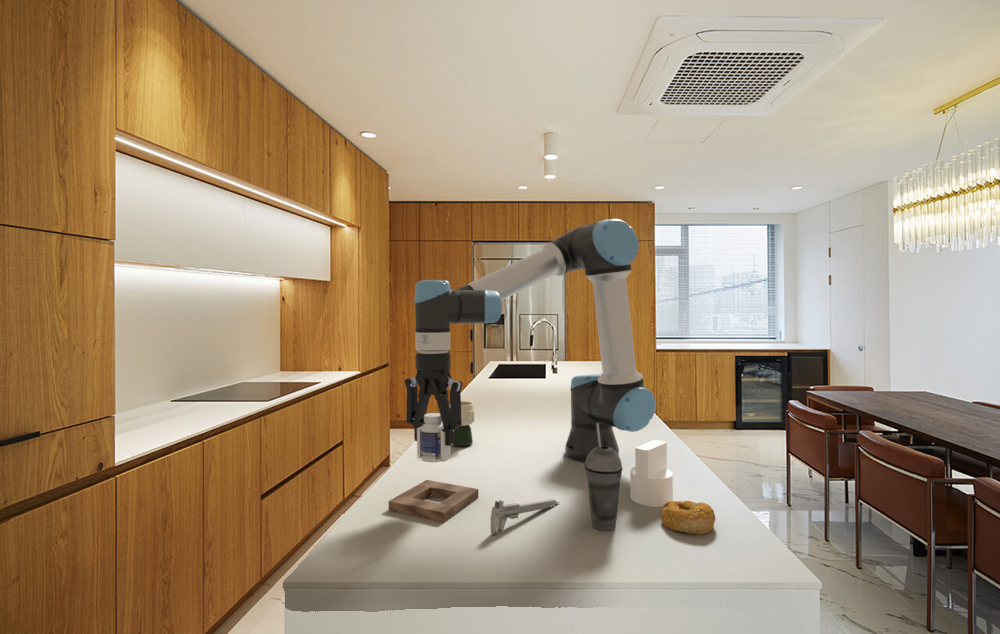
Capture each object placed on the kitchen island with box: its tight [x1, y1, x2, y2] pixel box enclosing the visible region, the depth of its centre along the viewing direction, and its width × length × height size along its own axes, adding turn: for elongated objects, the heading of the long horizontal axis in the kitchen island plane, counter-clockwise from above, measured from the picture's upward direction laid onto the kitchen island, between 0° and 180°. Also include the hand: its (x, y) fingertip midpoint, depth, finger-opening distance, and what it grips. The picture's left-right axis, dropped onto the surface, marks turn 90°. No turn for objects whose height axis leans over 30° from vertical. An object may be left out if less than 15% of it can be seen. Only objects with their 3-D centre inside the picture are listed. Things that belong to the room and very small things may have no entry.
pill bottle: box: [420, 412, 444, 463], centre depth 108 cm, size 5×5×10 cm
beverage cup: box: [584, 423, 624, 532], centre depth 97 cm, size 7×7×20 cm
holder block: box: [388, 479, 479, 523], centre depth 109 cm, size 14×14×2 cm
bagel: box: [660, 500, 716, 536], centre depth 97 cm, size 10×11×5 cm
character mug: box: [452, 400, 475, 447], centre depth 154 cm, size 11×7×13 cm, turn 44°
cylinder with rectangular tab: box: [629, 439, 674, 508], centre depth 110 cm, size 9×9×12 cm
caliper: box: [490, 498, 560, 535], centre depth 101 cm, size 20×1×6 cm, turn 137°
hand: (433, 457), depth 108 cm, fingers closed on pill bottle, 5 cm apart
